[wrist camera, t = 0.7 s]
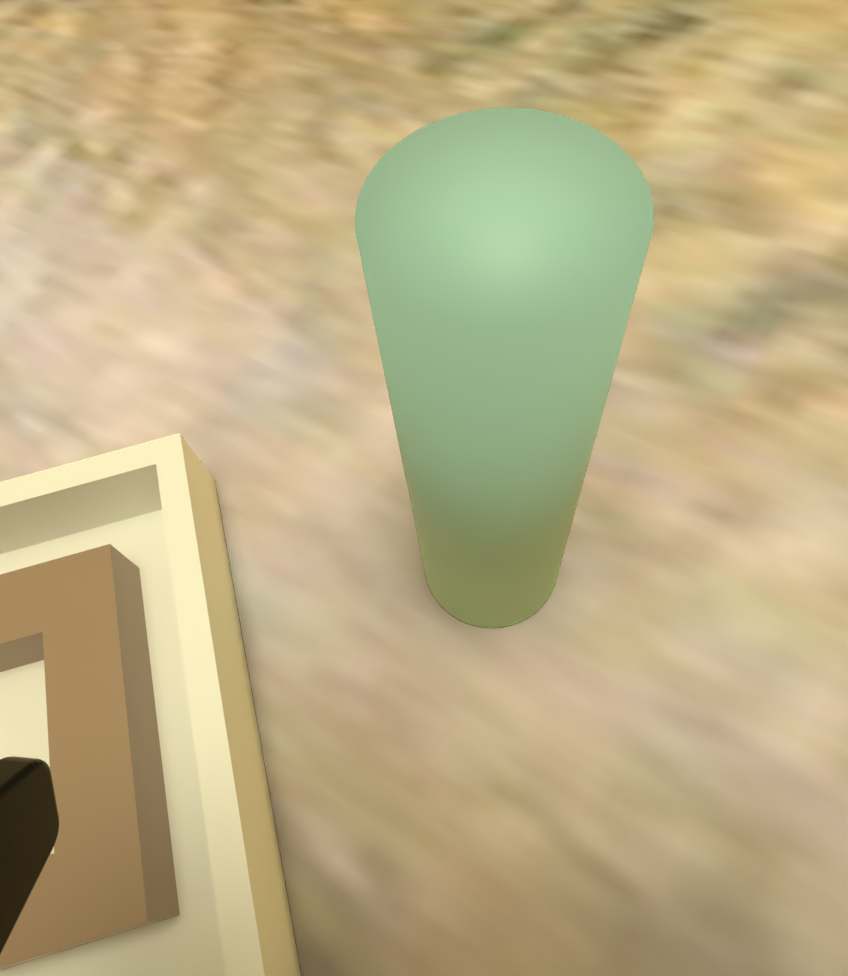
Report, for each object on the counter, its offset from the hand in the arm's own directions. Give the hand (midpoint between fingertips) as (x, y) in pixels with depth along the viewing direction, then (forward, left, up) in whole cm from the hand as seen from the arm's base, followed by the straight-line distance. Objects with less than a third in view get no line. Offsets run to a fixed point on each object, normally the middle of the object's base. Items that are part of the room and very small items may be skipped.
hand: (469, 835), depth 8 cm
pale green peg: (+7, -3, -13) cm, 15 cm away
